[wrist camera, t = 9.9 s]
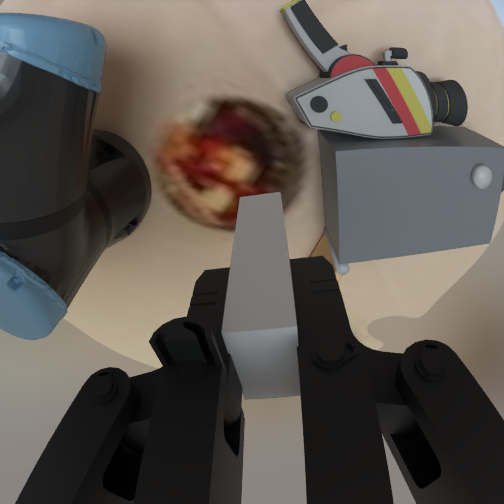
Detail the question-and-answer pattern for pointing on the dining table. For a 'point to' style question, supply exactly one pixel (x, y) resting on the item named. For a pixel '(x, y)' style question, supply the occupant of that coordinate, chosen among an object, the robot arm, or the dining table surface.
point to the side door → (330, 255)
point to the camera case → (409, 192)
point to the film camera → (367, 88)
